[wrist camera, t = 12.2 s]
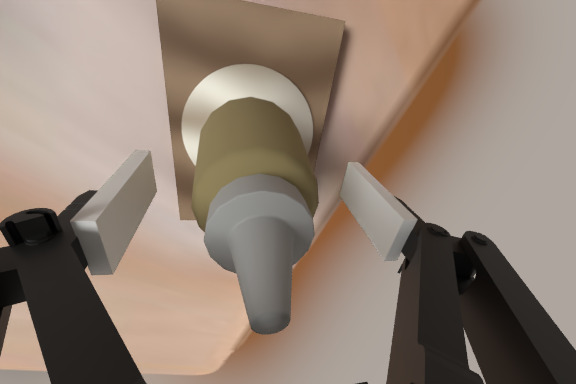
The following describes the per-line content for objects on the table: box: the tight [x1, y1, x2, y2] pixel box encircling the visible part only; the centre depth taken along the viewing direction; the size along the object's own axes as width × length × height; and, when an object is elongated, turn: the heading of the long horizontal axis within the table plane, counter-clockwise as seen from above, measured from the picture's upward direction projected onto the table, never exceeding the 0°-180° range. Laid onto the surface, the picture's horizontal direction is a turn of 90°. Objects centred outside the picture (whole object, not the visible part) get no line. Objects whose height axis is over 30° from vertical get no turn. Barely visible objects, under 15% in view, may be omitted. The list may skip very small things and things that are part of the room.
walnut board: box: [156, 0, 345, 220], centre depth 23 cm, size 20×14×2 cm
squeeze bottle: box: [191, 97, 319, 334], centre depth 15 cm, size 8×8×18 cm
